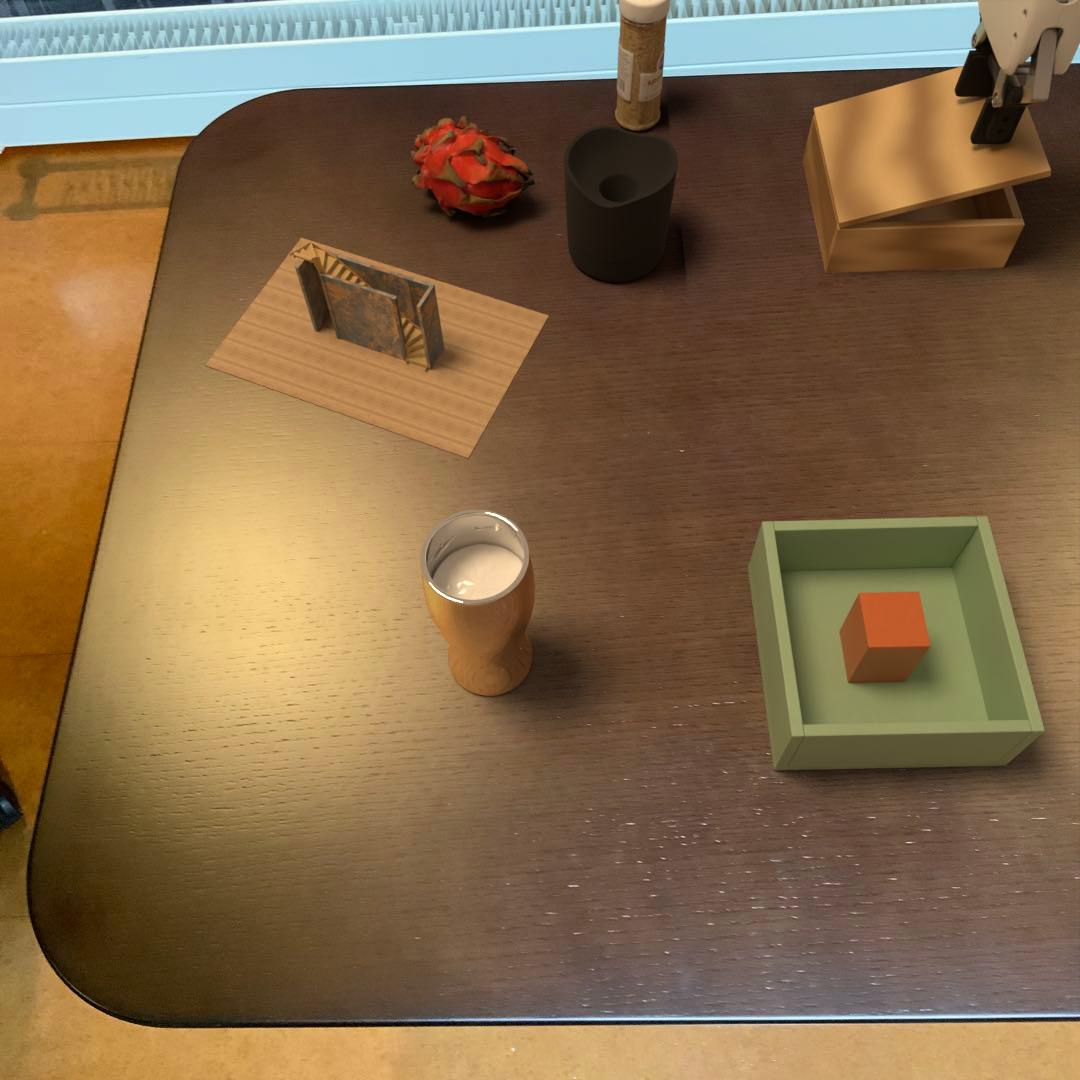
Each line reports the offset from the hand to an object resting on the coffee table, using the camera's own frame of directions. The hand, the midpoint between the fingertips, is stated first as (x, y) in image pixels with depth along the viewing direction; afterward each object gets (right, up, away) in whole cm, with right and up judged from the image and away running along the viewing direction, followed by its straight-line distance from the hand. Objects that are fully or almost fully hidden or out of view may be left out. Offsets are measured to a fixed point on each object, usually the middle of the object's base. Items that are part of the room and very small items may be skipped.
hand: (981, 115), depth 87 cm
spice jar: (-27, +7, +18) cm, 33 cm away
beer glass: (-40, -44, -11) cm, 61 cm away
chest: (-4, -6, +9) cm, 12 cm away
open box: (-13, -44, -12) cm, 47 cm away
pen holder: (-30, -9, +9) cm, 32 cm away
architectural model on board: (-51, -18, +4) cm, 54 cm away
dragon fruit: (-43, -3, +12) cm, 45 cm away
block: (-13, -43, -13) cm, 47 cm away
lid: (-4, -1, +2) cm, 5 cm away
